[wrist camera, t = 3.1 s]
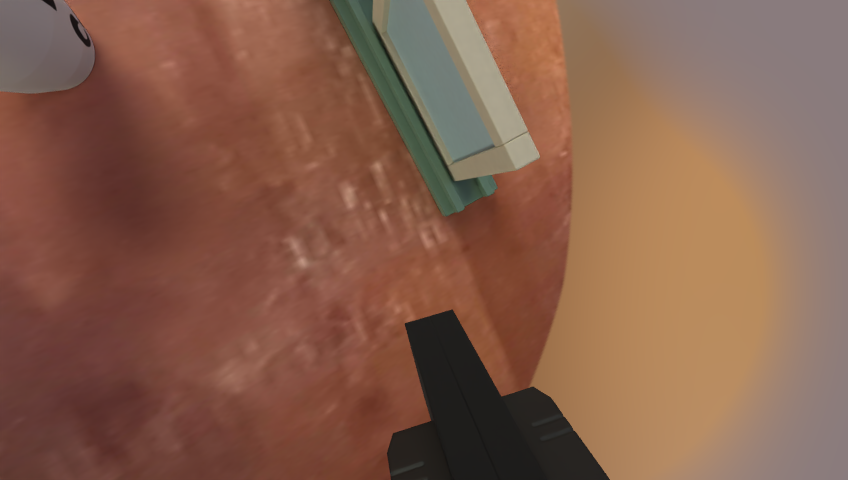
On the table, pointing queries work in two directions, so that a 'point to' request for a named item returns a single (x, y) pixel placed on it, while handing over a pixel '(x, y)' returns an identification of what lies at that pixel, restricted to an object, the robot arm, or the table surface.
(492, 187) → the green l-shaped bracket
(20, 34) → the cup
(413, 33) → the window pane
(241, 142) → the table surface
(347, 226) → the table surface
